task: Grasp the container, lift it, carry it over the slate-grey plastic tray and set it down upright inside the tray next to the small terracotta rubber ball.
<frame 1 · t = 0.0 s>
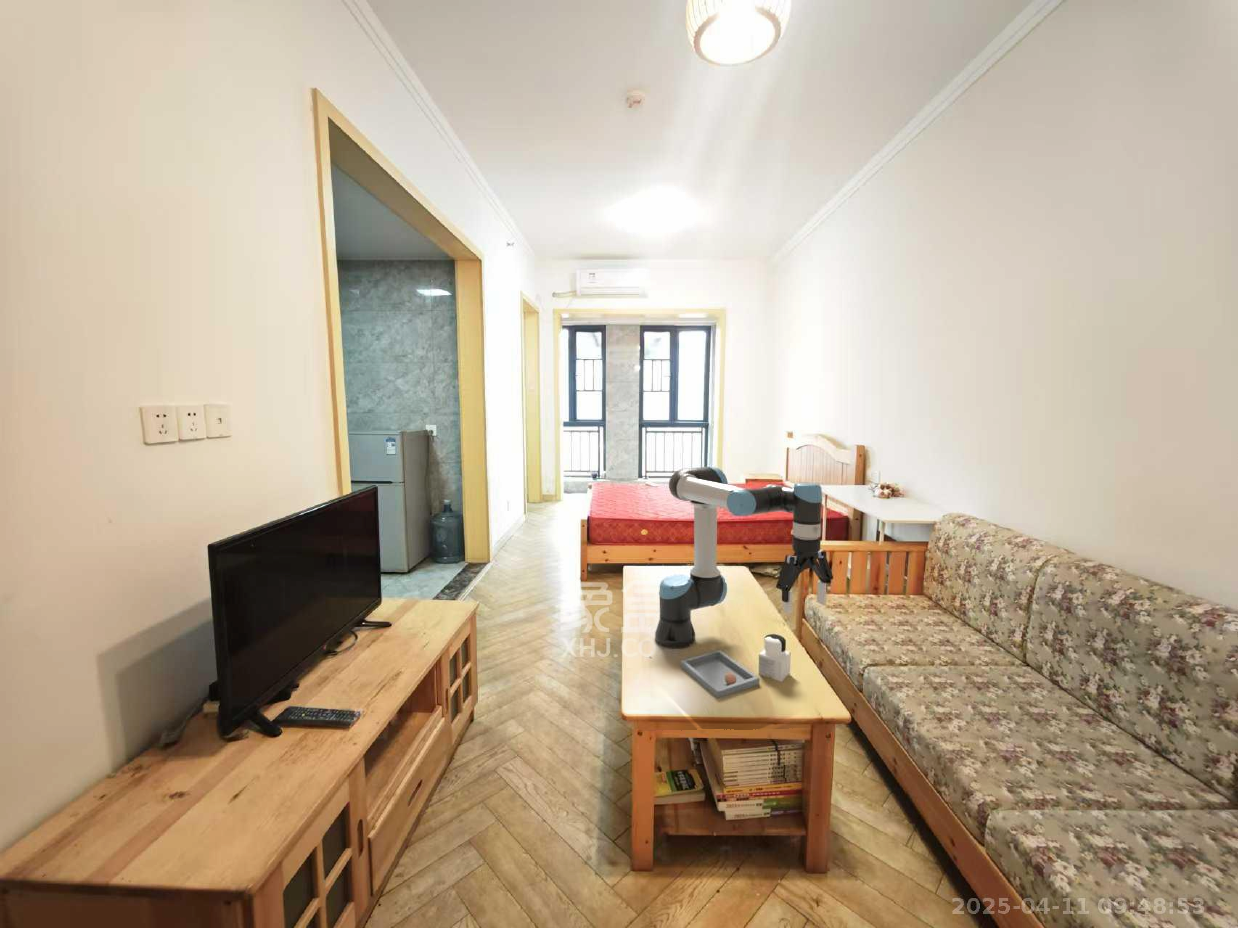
hand: (804, 607, 139), 28 cm above the table, fingers open, 13 cm apart
tray: (718, 677, 153), on the table
container: (774, 675, 154), on the table
ball: (730, 684, 148), point 1 cm above the table, touching tray
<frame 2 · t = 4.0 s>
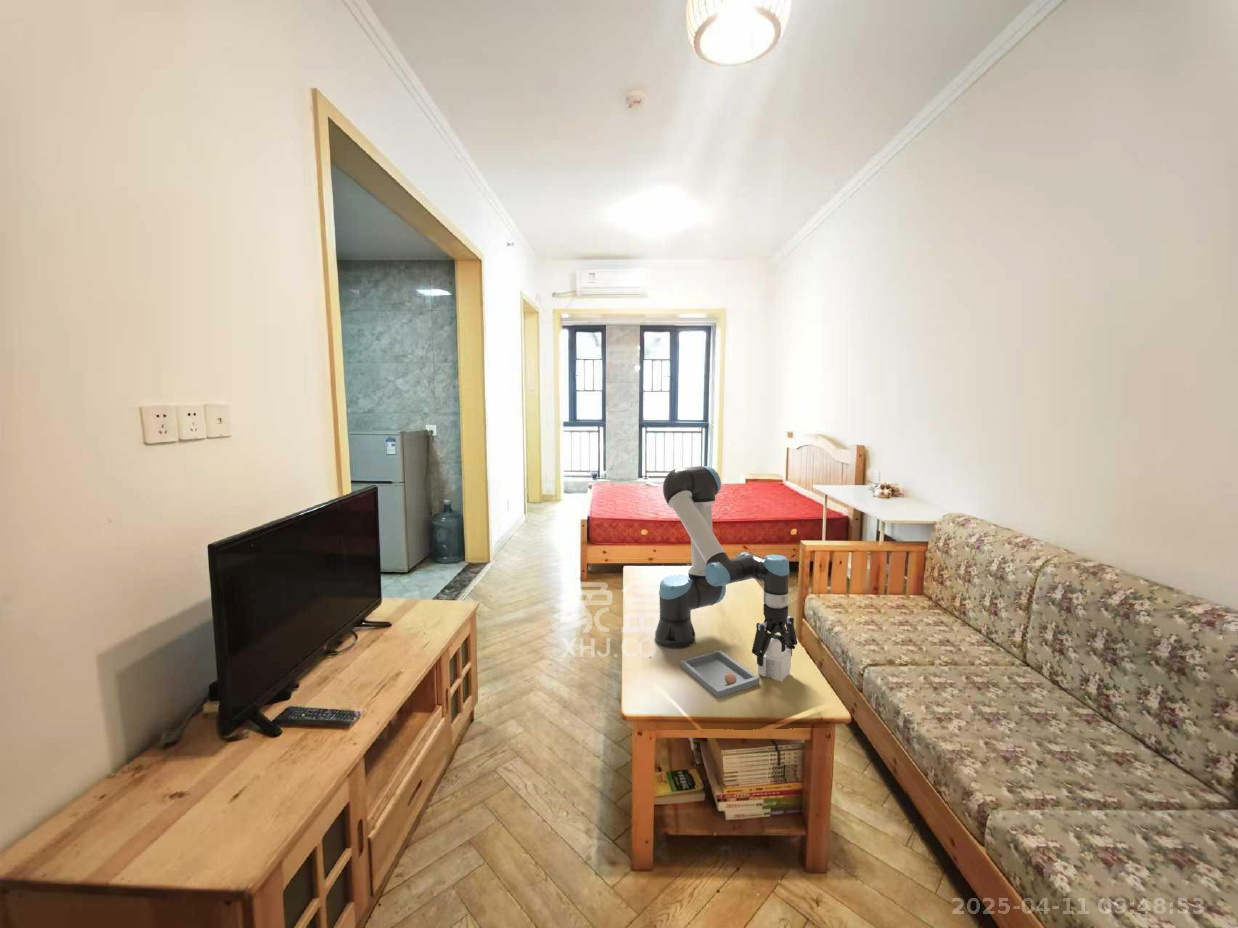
hand: (774, 670, 154), 2 cm above the table, fingers closed on container, 10 cm apart
container: (774, 675, 154), on the table, touching gripper
everything else where it was.
when the fingers open (4 cm above the table, at t = 10.5 s): container drops 1 cm, resting on tray.
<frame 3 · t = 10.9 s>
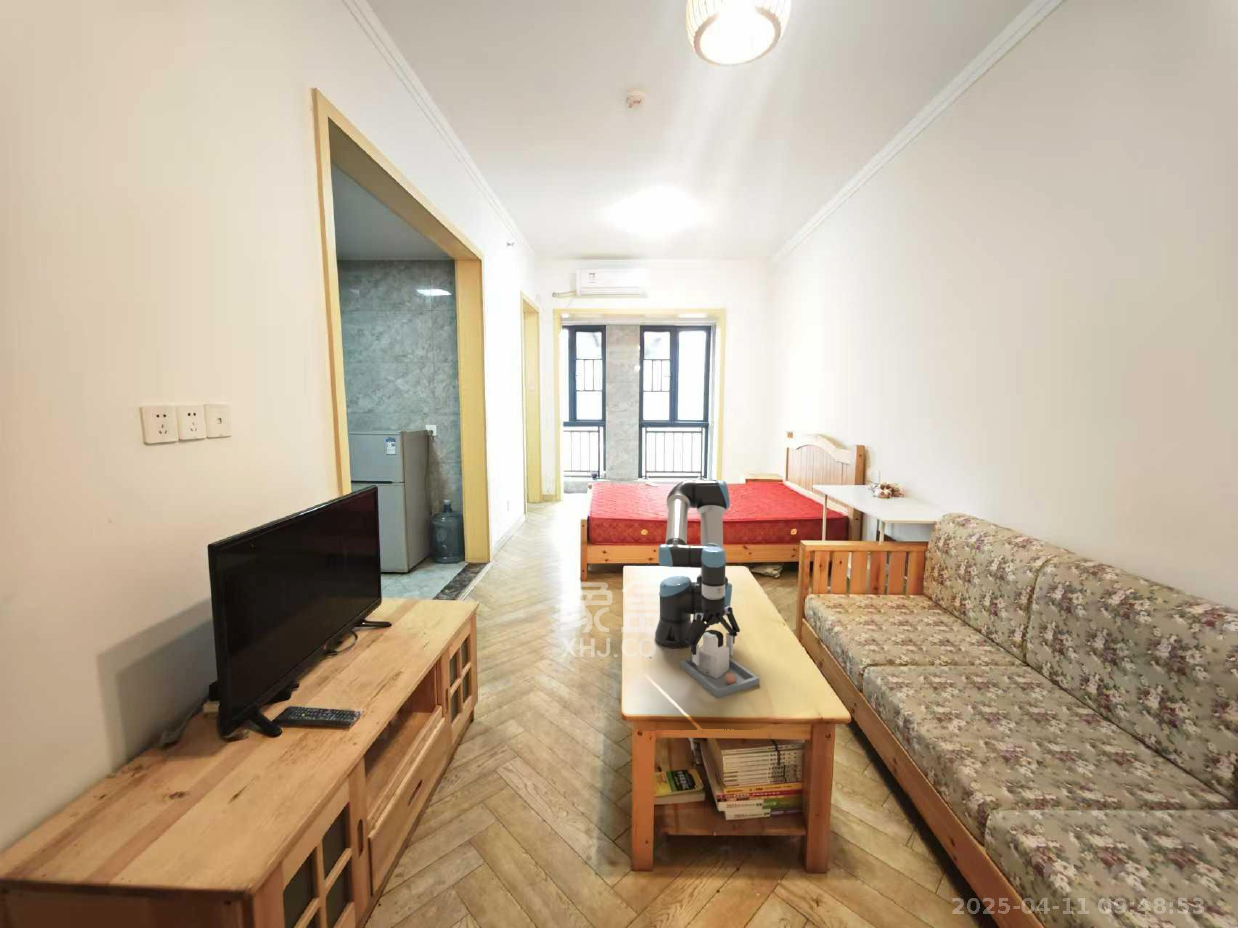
hand: (712, 658, 155), 5 cm above the table, fingers open, 13 cm apart
container: (713, 671, 156), point 1 cm above the table, touching tray
everything else where it was.
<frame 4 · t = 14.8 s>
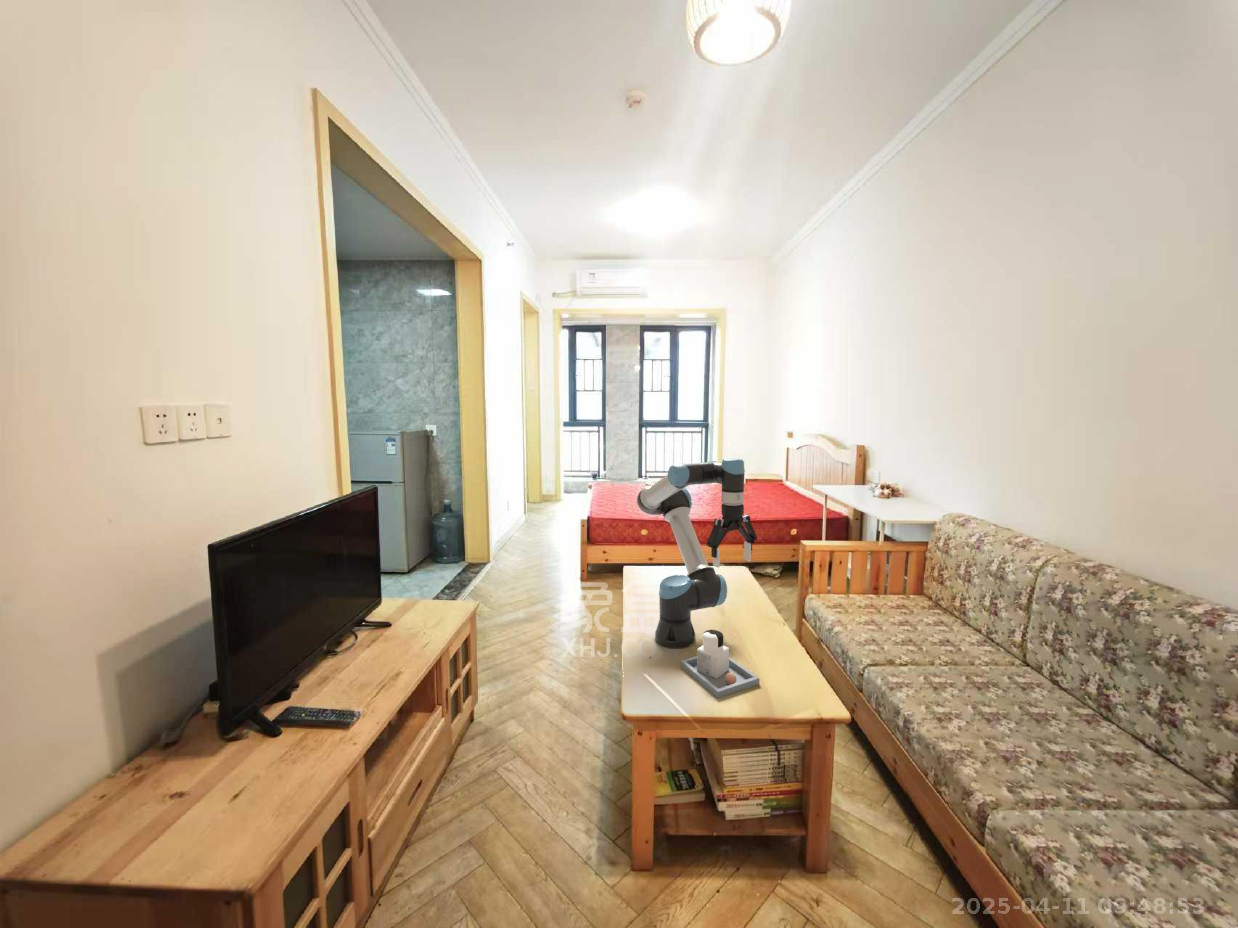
hand: (732, 563, 166), 33 cm above the table, fingers open, 13 cm apart
nothing on the table moved.
at the end: container inside the target area on the tray (1.0 cm from its centre), point 0.8 cm above the tray's base; container tilted 0°; the gripper is holding nothing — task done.
